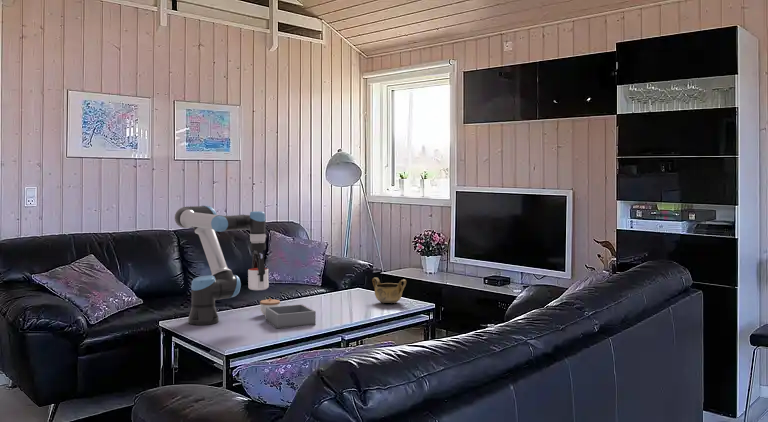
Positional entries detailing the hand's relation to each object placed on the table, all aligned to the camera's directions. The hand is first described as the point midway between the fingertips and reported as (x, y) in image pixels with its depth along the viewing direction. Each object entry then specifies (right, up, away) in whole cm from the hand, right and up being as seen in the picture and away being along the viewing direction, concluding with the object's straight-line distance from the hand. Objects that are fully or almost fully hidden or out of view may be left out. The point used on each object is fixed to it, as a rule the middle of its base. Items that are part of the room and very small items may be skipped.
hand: (258, 286), depth 329 cm
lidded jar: (+1, -19, +27) cm, 33 cm away
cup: (0, -2, 0) cm, 2 cm away
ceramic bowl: (+66, -18, +63) cm, 93 cm away
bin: (+15, -20, +9) cm, 26 cm away
